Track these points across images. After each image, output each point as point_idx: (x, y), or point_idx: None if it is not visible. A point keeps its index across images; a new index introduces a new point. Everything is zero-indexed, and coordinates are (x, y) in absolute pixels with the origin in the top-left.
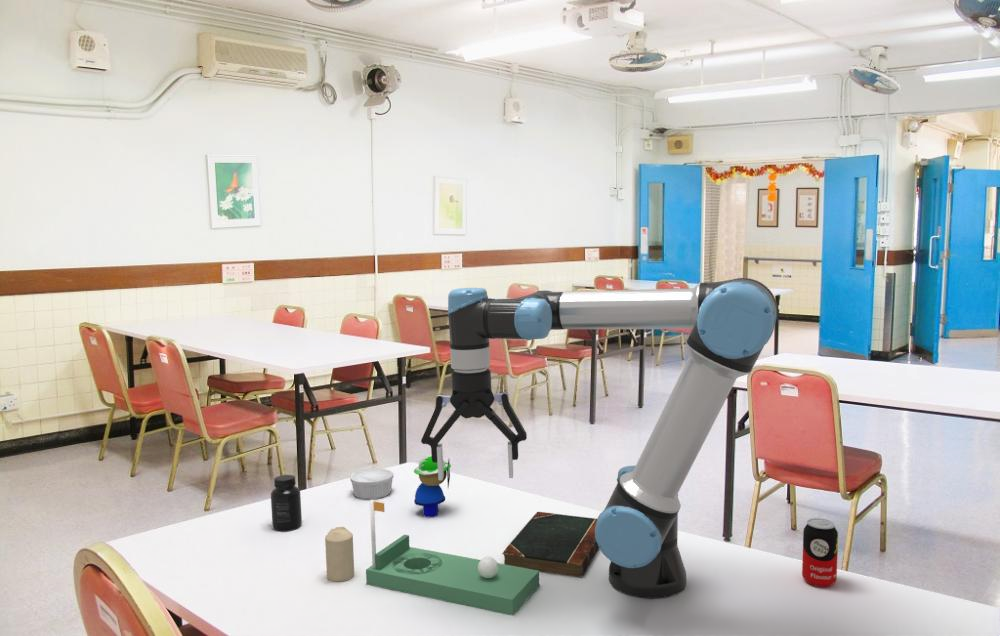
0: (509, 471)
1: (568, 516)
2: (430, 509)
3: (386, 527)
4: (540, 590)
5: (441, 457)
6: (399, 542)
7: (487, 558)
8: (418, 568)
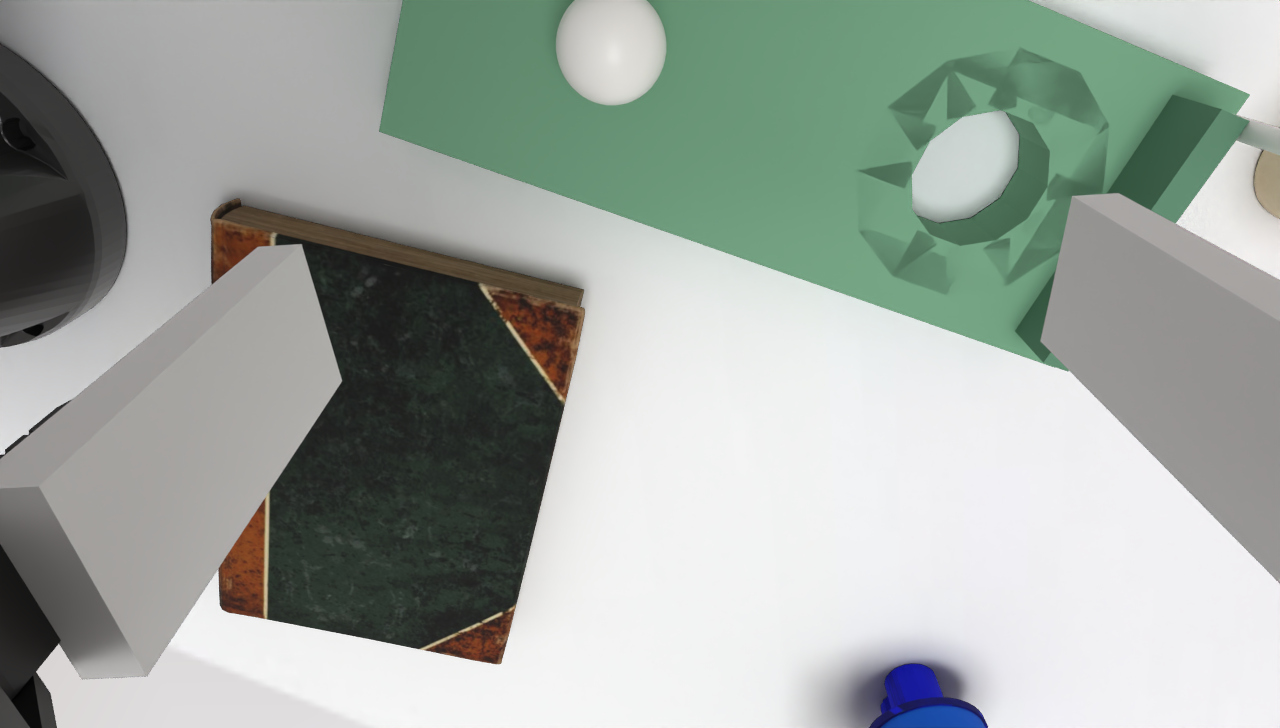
0: (260, 275)
1: (372, 631)
2: (916, 689)
3: (1081, 588)
4: (386, 65)
5: (1244, 352)
6: None
7: (609, 44)
8: (956, 226)
